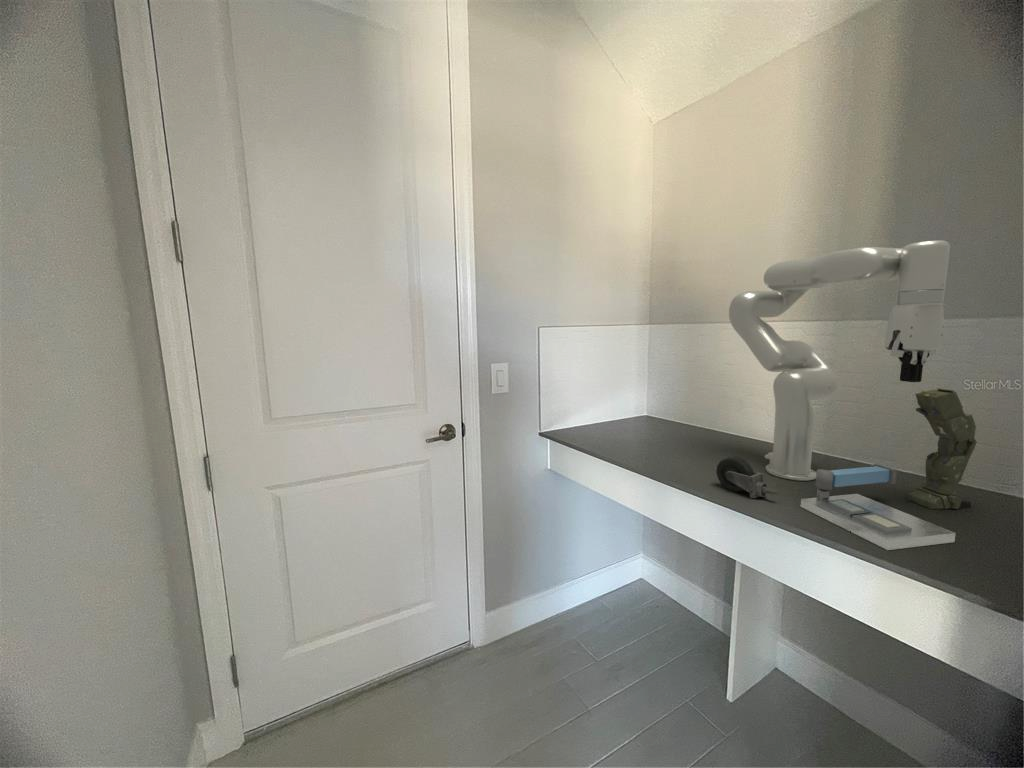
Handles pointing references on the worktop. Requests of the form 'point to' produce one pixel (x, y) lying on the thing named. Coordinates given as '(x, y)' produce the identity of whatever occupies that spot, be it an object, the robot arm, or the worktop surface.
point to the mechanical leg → (945, 449)
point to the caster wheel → (742, 477)
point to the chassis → (876, 521)
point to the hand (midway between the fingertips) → (910, 381)
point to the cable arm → (855, 476)
